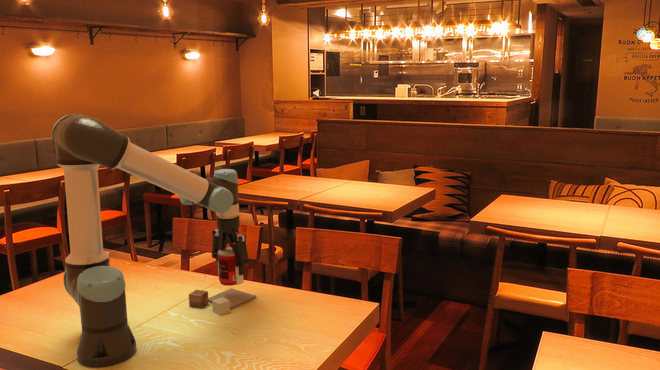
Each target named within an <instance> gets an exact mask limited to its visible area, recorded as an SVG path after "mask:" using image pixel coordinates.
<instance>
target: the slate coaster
mask: <svg viewBox="0 0 660 370" xmlns="http://www.w3.org/2000/svg"><path fill="white" fill-rule="evenodd" d="M221 297H224V298H226V299H228V300H230V310H231V309H232V310H234V309H236V308H238V307H241V306H242V305H245V304H246V303H249V302H250V301H252V300H255V299H256V298H257V295H255V294H251V293H249V292H245V291H241V290H239V289H235V288H232V287H230V288H229V289H226V290H224V291H222V292H219V293H216V294H214V295H212V296H209V297H208V302H209V304H212V300H215V299H218V298H221ZM233 308H234V309H233Z"/></svg>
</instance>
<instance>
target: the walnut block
mask: <svg viewBox="0 0 660 370" xmlns="http://www.w3.org/2000/svg"><path fill="white" fill-rule="evenodd" d="M208 298H209V291H208V290H203V289H202V290H201V289H195V290H193V291H191V292H190V293H189V294H188V305H189V306H188V307H189V308H194V309H200V310H202V309H203V308H204V307H206V306H207V305H209V304H210V303H209V302H208Z"/></svg>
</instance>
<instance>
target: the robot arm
mask: <svg viewBox="0 0 660 370" xmlns="http://www.w3.org/2000/svg"><path fill="white" fill-rule="evenodd" d="M51 140H52V143H53V146H54V148H55V151H56V153H55V154H56V164H57V166H58V167H59V168H61V169H62V170H63V175H64V187H65V201H66V213H67V225H68V236H69V237H68V238H69V239H68V240H69V248H70V249H69V250H70V251H69V252H70V253H69V254H68V256H66V257H65V258H64V261H65V262H64V264H65V270H64V273H63V277H62V278H63V286H64V289H65V291H66V292H67V293H68V295H69V296H70V297H71V298H72V299H73V300H74V301H75V303H76V304H77V305H78V307H79V313H80V315H79V316H80V324H81V334H80V338H79V341H78V346H77V350H76V358H77V361H78V363H79V364H80V365H82V366H85V367H91V368H100V367H109V366H112V365H117V364H120V363H122V362H125V361H126V360H128V359H130V358H131V357H132V356H134V355H135V353H136V352H137V341H136V338H135V336H134V334H133V332H132V330H131V328H130V325H129V322H128V321H129V320H128V311H127V298H126V297H127V296H126V280H125V276H124V273H123V272H122V270H120V269H119V268H117V267H114V266H111V264H110V253H109V254H108V253H107V252H108V251H107V252H105V251H106V250H104V245H103V244H104V243H103V242H104V241H103V229H102V228H103V227H102V218H101V217H102V215H101V214H102V213H101V201H100V187H99V184H100V183H99V170H98V169H99V167H100V166H103V167H105V168H107V169H110V170H111V171H112V170H115V169H119V170H121V171H124V172H126V173H127V174H130V175H133V176H135V177H136V178H139V179H140V180H144V181H146V182H148V183H149V184H152V185H155V186H157V187H159V188H162V189H164V190H166V191H168V192H171V193H173V194H175V195H177V196H178V199H179V201H180V203H181V204H182V205H184V206H188V205H189V206H192V205H199V206H201V207H203V208H206V209H208V210H210V211H212V212H215V215H216V227H217V229H214V230H212V231H211V234H212V246H211V258H212V259H215V260H216V268H217V274H218V275H217V276H218V277H219V264H218V251H219V250H224V249H226V248H227V247H228V245H229V247H231V248H232V251H233V254H234V253H235V260H236V263H237V265H236V266H235V267H236V285H235V286H239V285H241V284H244V275H245V265H248V264H250V263H249V262H250V259H249V254H248V249H247V248H248V247H247V235H246V234H241V233H240V231H239V228H240V226H241V225H240V222H241V221H240V220H241V219H240V216H239V215H240V204H239V178H238V176H239V175H238V173H237V170H235V169H231V168H222V169H220V168H219V169H216V170H215V171H214V172H213V177H208V178H206V177H205V178H204V177H202V176H200V175H197V174H196V173H193V172H191V171H189V170H187V169H186V168H183V167H181V166H179V165H177V164H175V163H173V162H171V161H168V160H167V159H165V158H163V157H161V156H159V155H156V154H155V153H153V152H150V151H148V150H147V149H144V148H142V147H141V146H138V145H137V144H135V143H133V142H131V141H130V140H131V139H130V138H129V137H128V136H127V135H124V134H123V133H120V132H119V131H117V130H115V129H114V128H113V127H110V126H109V125H107V124H106V123H105V122H104V121H101V120H100V119H98V118H96V117H92V116H89V115H85V114H82V113H72V114H68V115H64V116H62V117H61V118H59V119H58V120H57V121H56V122H55V124H54V125H53V127H52V130H51ZM240 261H241V262H240Z"/></svg>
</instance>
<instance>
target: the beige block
mask: <svg viewBox="0 0 660 370" xmlns="http://www.w3.org/2000/svg"><path fill="white" fill-rule="evenodd" d="M211 304H212V305H211V306H212V313H214V314H216V315H217V316H220V317H221V316H222V314H223V315H225V314H228V313H230V312H231V309H230V300H228V299H226V298H224V297H221V298H218V299H215V300H212V303H211Z"/></svg>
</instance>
